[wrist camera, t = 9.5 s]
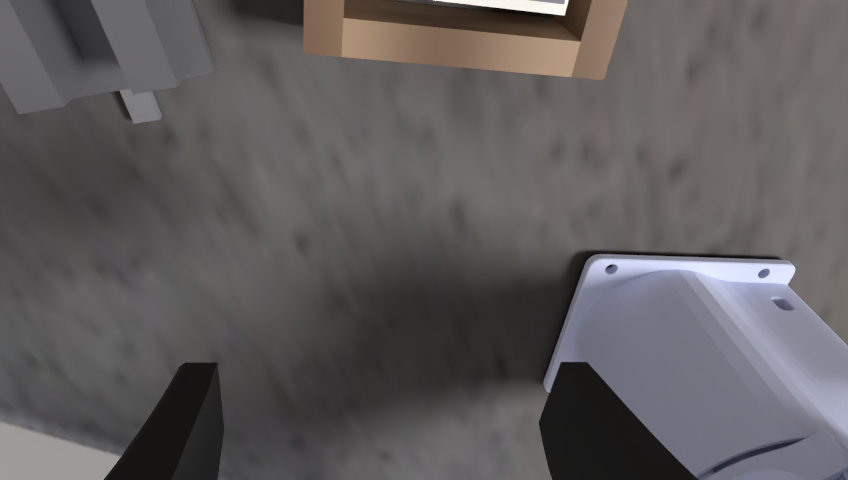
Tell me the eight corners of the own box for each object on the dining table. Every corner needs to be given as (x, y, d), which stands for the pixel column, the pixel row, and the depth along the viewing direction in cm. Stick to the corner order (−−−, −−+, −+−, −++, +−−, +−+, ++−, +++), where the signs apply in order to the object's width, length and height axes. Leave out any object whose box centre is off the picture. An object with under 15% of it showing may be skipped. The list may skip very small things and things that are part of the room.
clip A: (216, 69, 18) (200, 102, 16) (52, 98, 18) (13, 134, 16) (149, -122, 15) (118, -114, 13) (-48, -89, 15) (-112, -75, 13)
